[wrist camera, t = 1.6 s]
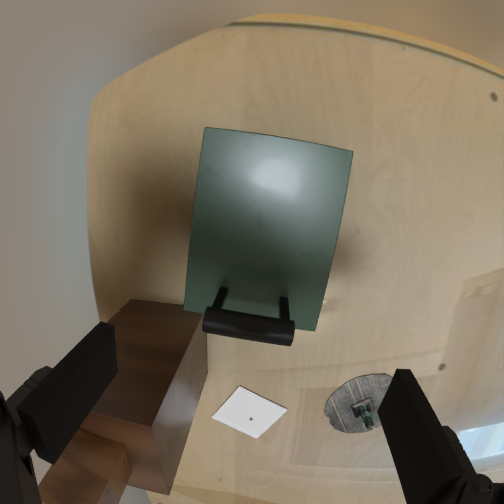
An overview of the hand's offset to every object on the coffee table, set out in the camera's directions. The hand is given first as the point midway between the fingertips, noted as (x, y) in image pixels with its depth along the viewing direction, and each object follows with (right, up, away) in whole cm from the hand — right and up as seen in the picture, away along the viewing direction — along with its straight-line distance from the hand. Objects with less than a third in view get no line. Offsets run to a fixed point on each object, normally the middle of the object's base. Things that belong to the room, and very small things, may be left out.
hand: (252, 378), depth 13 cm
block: (-12, -11, +7) cm, 17 cm away
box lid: (+1, +7, +12) cm, 14 cm away
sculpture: (+16, -17, +27) cm, 36 cm away
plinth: (-11, -6, +26) cm, 28 cm away
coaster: (0, -18, +28) cm, 34 cm away
